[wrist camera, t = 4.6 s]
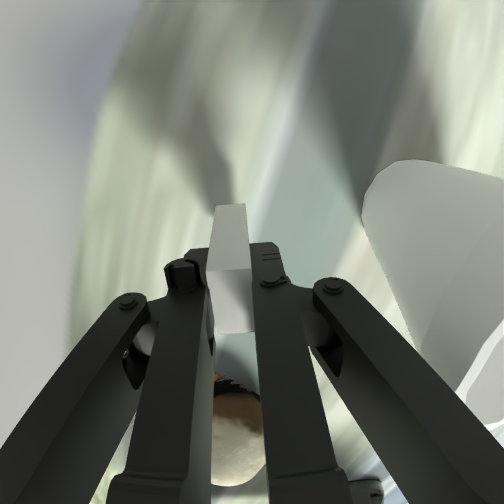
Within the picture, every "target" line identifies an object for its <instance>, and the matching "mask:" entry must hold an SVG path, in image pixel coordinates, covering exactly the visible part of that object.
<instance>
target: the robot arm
mask: <svg viewBox="0 0 504 504" xmlns="http://www.w3.org/2000/svg"><path fill="white" fill-rule="evenodd" d="M164 272H165V276H166V281H167V285H168V292H167V296H165V297H163V298H160V299H157V300H153V301H149V302H147V299H146V297H145V296H144V295H143V294H141V293H126V294H123V295H121V296H119V297H117V298H116V299H115V300H114V301H113V302H112V303H111V304H110V305H109V306H108V308H107V309H106V310H105V311H104V312H103V313H102V315H101V316H100V317H99V318H98V319H97V321H96V322H95V323H94V324H93V325H92V327H91V328H90V329H89V330H88V332H87V333H86V334H85V335H84V336H83V338H82V339H81V340H80V341H79V343H78V344H77V345H76V346H75V348H74V349H73V350H72V351H71V353H70V354H69V355H68V356H67V358H66V359H65V360H64V362H63V363H62V364H61V365H60V367H59V368H58V369H57V371H56V372H55V373H54V375H53V376H52V377H51V379H50V380H49V381H48V383H47V384H46V385H45V387H44V388H43V389H42V391H41V392H40V393H39V395H38V396H37V397H36V399H35V400H34V401H33V403H32V404H31V406H30V407H29V408H28V410H27V411H26V413H25V414H24V415H23V417H22V418H21V420H20V421H19V422H18V424H17V425H16V427H15V428H14V430H13V431H12V433H11V434H10V435H9V437H8V438H7V440H6V441H5V443H4V444H3V446H2V448H1V449H0V504H89V503H90V501H91V499H92V497H93V495H94V493H95V491H96V489H97V487H98V485H99V483H100V481H101V479H102V477H103V475H104V473H105V471H106V469H107V467H108V465H109V463H110V461H111V459H112V457H113V455H114V453H115V451H116V449H117V447H118V445H119V443H120V441H121V439H122V437H123V435H124V433H125V432H126V430H127V428H128V426H129V424H130V422H131V420H132V418H133V416H134V414H135V412H136V410H137V413H136V417H135V422H134V426H133V431H132V436H131V441H130V446H129V451H128V456H127V461H126V466H125V469H124V471H123V472H122V473H121V474H118V475H115V476H114V477H113V479H112V480H111V482H110V486H109V489H108V494H107V499H106V504H211V454H212V419H213V391H214V368H215V347H216V343H215V337H214V328H215V333H216V334H231V333H246V332H255V340H256V353H257V364H258V377H259V389H260V401H261V413H262V425H263V437H264V449H265V460H266V472H267V484H268V496H269V504H383V503H384V491H383V487H382V484H381V482H379V481H376V480H362V481H354V482H349V483H348V480H347V477H346V474H345V472H344V470H343V469H341V468H340V467H338V465H337V462H336V459H335V455H334V450H333V446H332V442H331V437H330V433H329V429H328V425H327V420H326V416H325V412H324V408H323V404H322V400H321V396H320V392H319V388H318V384H317V380H316V376H315V372H314V368H313V364H312V360H311V356H310V352H309V348H308V346H310V349H311V352H312V353H313V355H314V357H315V358H316V360H317V361H318V363H319V364H320V366H321V368H322V369H323V371H324V372H325V374H326V375H327V377H328V378H329V380H330V382H331V383H332V385H333V386H334V388H335V389H336V391H337V392H338V394H339V396H340V397H341V399H342V400H343V402H344V403H345V405H346V406H347V408H348V410H349V411H350V413H351V414H352V416H353V417H354V419H355V420H356V422H357V424H358V425H359V427H360V428H361V430H362V431H363V433H364V434H365V436H366V438H367V439H368V441H369V442H370V444H371V445H372V447H373V448H374V450H375V452H376V453H377V455H378V456H379V458H380V459H381V461H382V462H383V464H384V465H385V467H386V469H387V470H388V472H389V473H390V475H391V476H392V478H393V479H394V481H395V482H396V484H397V486H398V487H399V489H400V490H401V492H402V493H403V495H404V496H405V498H406V499H407V501H408V503H409V504H504V448H503V447H502V446H501V445H500V444H499V443H498V441H497V440H496V439H495V438H494V437H493V435H492V434H491V433H490V432H489V431H488V430H487V428H486V427H485V426H484V425H483V424H482V423H481V422H480V420H479V419H478V418H477V417H476V416H475V415H474V414H473V412H472V411H471V410H470V409H469V408H468V407H467V406H466V405H465V403H464V402H463V401H462V400H461V399H460V398H459V397H458V396H457V394H456V393H455V392H454V391H453V390H452V389H451V388H450V387H449V386H448V385H447V383H446V382H445V381H444V380H443V379H442V378H441V377H440V376H439V375H438V374H437V373H436V371H435V370H434V369H433V368H432V367H431V366H430V365H429V364H428V363H427V362H426V361H425V360H424V359H423V358H422V356H421V355H420V354H419V353H418V352H417V351H416V350H415V349H414V348H413V347H412V346H411V345H410V344H409V343H408V342H407V341H406V340H405V339H404V338H403V337H402V335H401V334H400V333H399V332H398V331H397V330H396V329H395V328H394V327H393V326H392V325H391V324H390V323H389V322H388V321H387V320H386V319H385V318H384V317H383V316H382V315H381V314H380V313H379V312H378V311H377V310H376V309H375V308H374V307H373V306H372V305H371V304H370V303H369V302H368V301H367V300H366V299H365V298H364V297H363V296H362V295H361V294H360V293H359V292H358V291H357V290H356V289H355V288H354V287H353V286H352V285H351V284H350V283H349V282H347V281H346V280H343V279H340V278H336V277H335V278H334V277H329V278H323V279H320V280H318V281H317V282H316V283H315V284H314V287H313V289H312V288H303V287H299V286H296V285H294V284H292V283H291V281H290V279H289V277H288V276H286V275H285V271H284V267H283V263H282V260H281V256H280V252H279V248H278V246H276V245H275V244H274V243H273V242H265V243H251V244H249V237H248V226H247V215H246V205H245V203H242V204H229V205H217V206H216V208H215V214H214V220H213V226H212V233H211V239H210V245H209V248H197V249H190V250H189V251H188V252H187V253H186V254H185V255H184V258H181V259H177V260H174V261H171V262H170V263H168V264H167V265H166V266H165V268H164ZM125 351H126V352H125ZM124 353H125V354H124Z"/></svg>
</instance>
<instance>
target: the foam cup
mask: <svg viewBox="0 0 504 504" xmlns="http://www.w3.org/2000/svg"><path fill="white" fill-rule="evenodd" d="M361 218H362V221H363V225H364V229H365V232H366V236H367V237H368V240H369V243H370V245H371V247H372V249H373V251H374V253H375V255H376V257H377V259H378V261H379V263H380V265H381V268H382V270H383V272H384V274H385V276H386V278H387V281H388V283H389V285H390V287H391V290H392V292H393V294H394V296H395V299H396V301H397V303H398V306H399V308H400V310H401V313H402V315H403V317H404V320H405V322H406V325H407V327H408V330H409V332H410V335H411V337H412V340H413V342H414V345H415V347H416V350H417V352H418V353H419V354H420V355H421V356H422V358H423V359H424V360H425V361H426V362H427V363H428V364H429V365H430V366H431V367H432V368H433V369H434V370H435V371H436V373H437V374H438V375H439V376H440V377H441V378H442V379H443V380H444V381H445V382H446V383H447V385H448V386H449V387H450V388H451V389H452V390H453V391H454V392H455V393H456V394H457V396H458V397H459V398H460V399H461V400H462V401H463V402H464V403H465V405H466V406H467V407H468V408H469V409H470V410H471V411H472V412H473V414H474V415H475V416H476V417H477V418H478V419H479V420H480V422H481V423H482V424H483V425H484V426H485V427H486V428H487V430H488V431H490V430H493V429H494V428H496V427H498V426H500V425H502V424H503V423H504V179H502V178H498V177H494V176H491V175H487V174H483V173H479V172H475V171H471V170H466V169H462V168H458V167H453V166H449V165H444V164H439V163H435V162H430V161H425V160H417V159H412V160H403V161H395V162H394V163H392V164H391V165H390V166H388V167H387V168H385V169H384V170H382V171H381V172H379V173H378V174H377V175H376V177H375V178H374V180H373V181H372V183H371V185H370V186H369V188H368V189H367V191H366V193H365V195H364V202H363V208H362V214H361Z"/></svg>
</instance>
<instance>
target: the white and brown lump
mask: <svg viewBox="0 0 504 504" xmlns="http://www.w3.org/2000/svg"><path fill="white" fill-rule="evenodd" d="M216 374H217V373H215V372H214V391H213V419H212V454H211V484H214V485H219V486H236V485H240V484H243V483H245V482H247V481H249V480H250V479H252V478H253V477H254V476H255V475H256V474H257V473H258V472H259V470H260V469H261V468H262V467H263V466H264V464H265V463H266V460H265V449H264V437H263V425H262V413H261V401H260V396H259V395H258V394H256V393H254V392H249V391H247V389H244V388H241V387H239V386H240V384H233V385H232V384H230V383H231V381H234V380H231V379H230V381H229V380H225V381H220V382H216V381H217V380H219V379H221V378H223V377H225V375H224V376H222V375H221V376H220V375H216ZM241 385H242V384H241Z"/></svg>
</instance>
